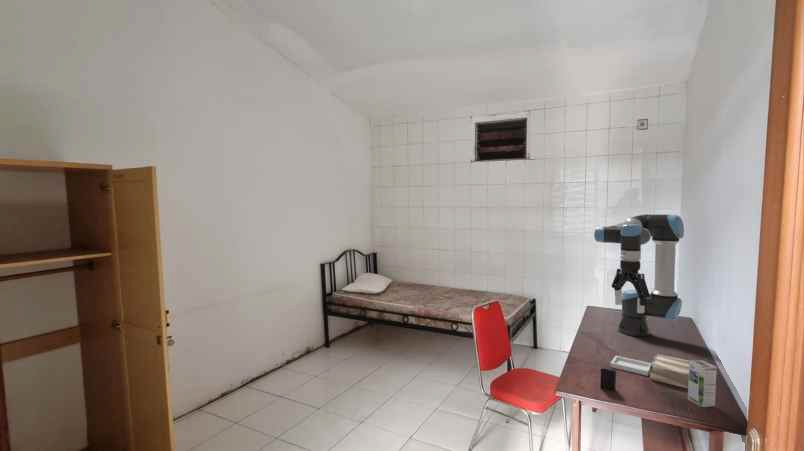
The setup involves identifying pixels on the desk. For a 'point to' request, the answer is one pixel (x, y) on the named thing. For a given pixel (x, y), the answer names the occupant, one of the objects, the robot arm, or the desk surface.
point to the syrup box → (702, 383)
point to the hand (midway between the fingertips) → (629, 308)
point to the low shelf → (670, 370)
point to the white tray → (631, 365)
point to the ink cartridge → (608, 378)
